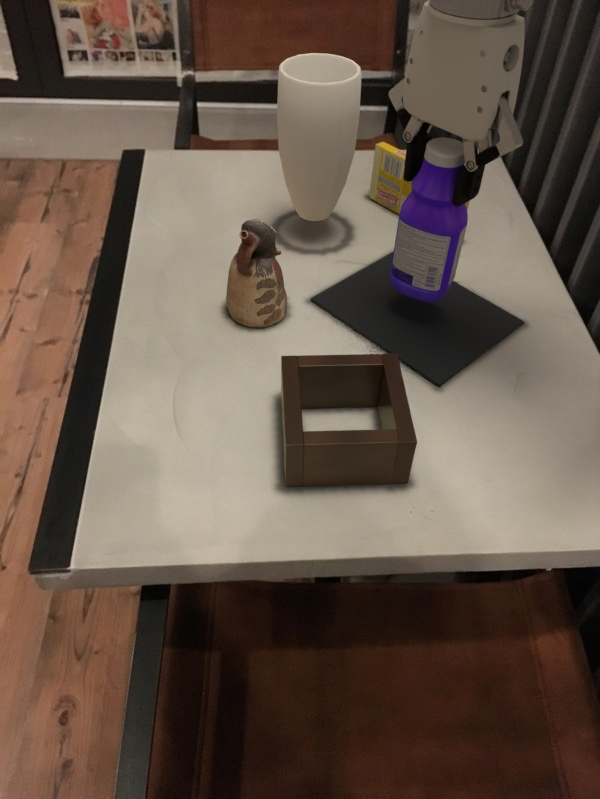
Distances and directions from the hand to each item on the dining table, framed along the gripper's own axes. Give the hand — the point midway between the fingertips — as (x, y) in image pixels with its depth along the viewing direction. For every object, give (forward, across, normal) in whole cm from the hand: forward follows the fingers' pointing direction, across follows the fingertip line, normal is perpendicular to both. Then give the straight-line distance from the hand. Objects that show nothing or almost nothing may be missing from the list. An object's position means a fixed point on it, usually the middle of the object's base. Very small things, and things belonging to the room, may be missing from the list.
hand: (439, 187), depth 71 cm
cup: (+17, +21, -3) cm, 27 cm away
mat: (+16, 0, 0) cm, 16 cm away
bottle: (+13, 0, 0) cm, 13 cm away
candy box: (+17, +14, -16) cm, 27 cm away
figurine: (+17, +13, +14) cm, 25 cm away
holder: (+16, -8, +21) cm, 28 cm away
